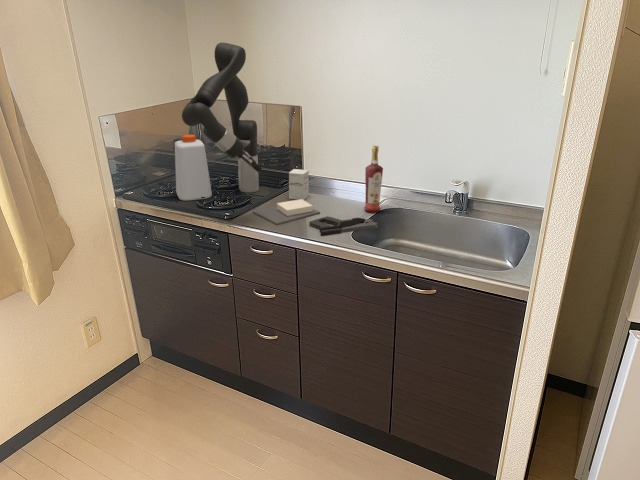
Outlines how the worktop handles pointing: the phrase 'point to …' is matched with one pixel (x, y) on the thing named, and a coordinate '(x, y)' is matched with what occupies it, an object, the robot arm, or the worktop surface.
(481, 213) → the worktop surface
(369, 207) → the liquor
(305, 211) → the tile
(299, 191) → the supplement box
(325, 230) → the pistol
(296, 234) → the worktop surface
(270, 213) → the mat
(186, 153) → the plastic bottle
